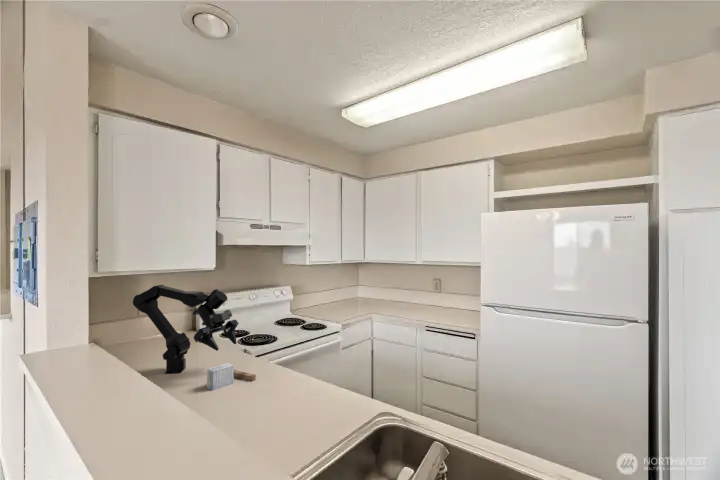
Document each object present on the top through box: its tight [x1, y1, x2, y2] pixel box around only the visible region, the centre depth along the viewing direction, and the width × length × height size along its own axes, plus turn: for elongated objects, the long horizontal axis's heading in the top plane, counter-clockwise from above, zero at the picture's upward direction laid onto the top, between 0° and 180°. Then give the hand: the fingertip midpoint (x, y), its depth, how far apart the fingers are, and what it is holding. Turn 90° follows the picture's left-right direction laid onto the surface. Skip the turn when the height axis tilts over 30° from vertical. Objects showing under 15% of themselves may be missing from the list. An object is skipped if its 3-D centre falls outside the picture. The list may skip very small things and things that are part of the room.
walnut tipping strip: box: [234, 369, 257, 382], centre depth 135 cm, size 12×2×2 cm, turn 65°
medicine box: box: [206, 362, 235, 391], centre depth 128 cm, size 8×4×9 cm
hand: (227, 346), depth 136 cm, fingers open, 9 cm apart
